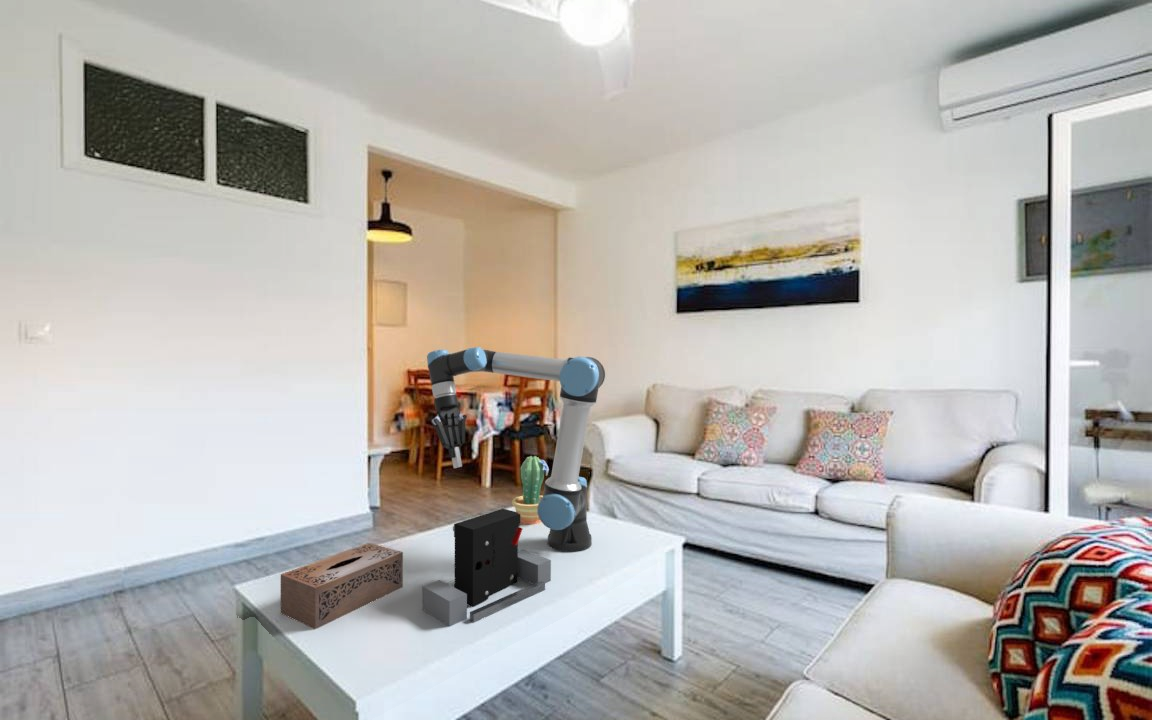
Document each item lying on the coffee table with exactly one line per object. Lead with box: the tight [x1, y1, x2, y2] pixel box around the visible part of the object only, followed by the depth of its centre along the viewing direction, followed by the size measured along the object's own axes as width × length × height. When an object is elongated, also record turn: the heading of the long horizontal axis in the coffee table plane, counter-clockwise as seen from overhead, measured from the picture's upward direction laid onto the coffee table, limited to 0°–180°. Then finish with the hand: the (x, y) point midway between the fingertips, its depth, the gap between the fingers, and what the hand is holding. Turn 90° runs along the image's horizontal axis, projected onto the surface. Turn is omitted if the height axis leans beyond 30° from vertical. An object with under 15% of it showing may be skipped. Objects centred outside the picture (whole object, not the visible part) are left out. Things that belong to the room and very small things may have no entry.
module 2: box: [518, 548, 552, 585], centre depth 151 cm, size 5×12×6 cm, turn 48°
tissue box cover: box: [280, 542, 404, 630], centre depth 137 cm, size 26×14×10 cm, turn 149°
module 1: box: [421, 579, 468, 627], centre depth 130 cm, size 5×12×6 cm, turn 48°
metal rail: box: [469, 581, 546, 623], centre depth 135 cm, size 24×2×2 cm, turn 138°
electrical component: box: [452, 508, 524, 608], centre depth 143 cm, size 18×10×20 cm, turn 142°
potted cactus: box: [511, 455, 550, 525], centre depth 203 cm, size 15×15×25 cm
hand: (457, 467), depth 169 cm, fingers closed
